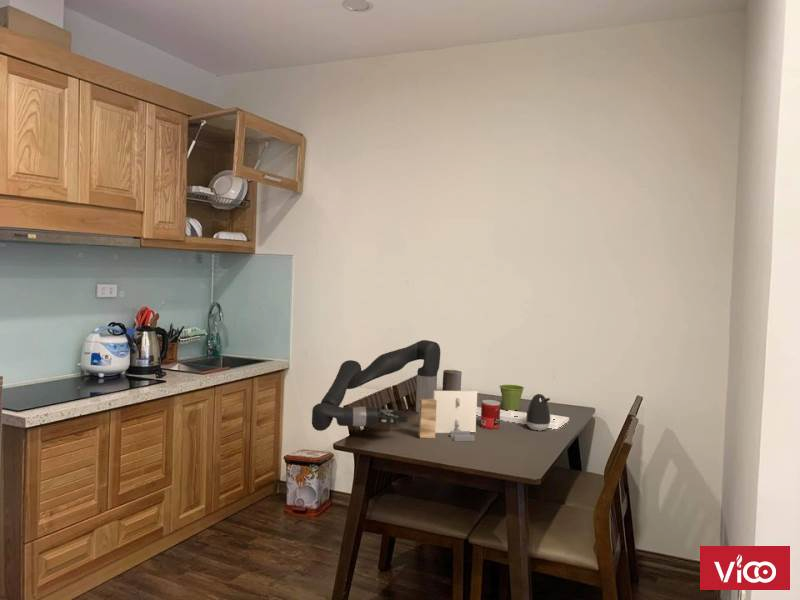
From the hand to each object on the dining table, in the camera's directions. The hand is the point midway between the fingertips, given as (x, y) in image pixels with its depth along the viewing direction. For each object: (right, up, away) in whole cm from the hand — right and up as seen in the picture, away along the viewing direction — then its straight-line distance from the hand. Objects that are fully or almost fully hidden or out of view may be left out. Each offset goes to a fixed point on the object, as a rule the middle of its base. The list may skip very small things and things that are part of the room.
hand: (405, 416), depth 241 cm
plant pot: (+52, -8, +57) cm, 77 cm away
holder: (+50, -9, +41) cm, 66 cm away
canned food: (+36, -9, +22) cm, 44 cm away
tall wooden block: (+8, -9, +2) cm, 12 cm away
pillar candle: (+25, -6, +82) cm, 86 cm away
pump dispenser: (+57, -10, +22) cm, 62 cm away
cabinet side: (+21, -9, +5) cm, 24 cm away
